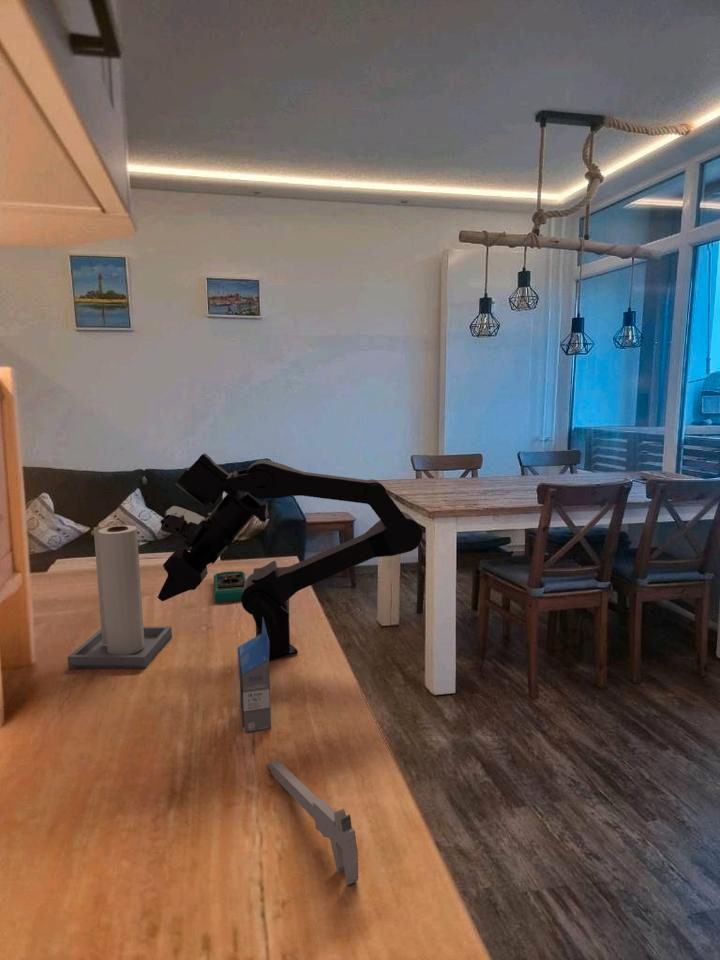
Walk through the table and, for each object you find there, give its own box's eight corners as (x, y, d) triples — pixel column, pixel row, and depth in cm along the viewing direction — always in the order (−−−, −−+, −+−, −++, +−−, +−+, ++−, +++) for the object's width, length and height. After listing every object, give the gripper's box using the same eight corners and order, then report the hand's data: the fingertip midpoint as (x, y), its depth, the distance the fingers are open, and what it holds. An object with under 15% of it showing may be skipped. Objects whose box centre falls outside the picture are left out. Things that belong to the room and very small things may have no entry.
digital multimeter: (245, 580, 140) (244, 569, 140) (249, 601, 126) (249, 588, 126) (213, 583, 138) (213, 571, 138) (214, 604, 124) (214, 591, 124)
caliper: (359, 886, 53) (358, 823, 52) (348, 891, 52) (348, 828, 51) (274, 764, 70) (272, 716, 69) (265, 767, 70) (264, 718, 69)
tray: (172, 636, 107) (171, 626, 107) (145, 668, 94) (144, 657, 94) (104, 636, 107) (103, 626, 107) (68, 668, 95) (67, 657, 94)
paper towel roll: (148, 651, 100) (140, 529, 96) (111, 660, 96) (101, 534, 93) (138, 636, 105) (130, 521, 102) (102, 645, 102) (93, 526, 99)
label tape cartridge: (238, 700, 85) (235, 619, 83) (265, 696, 86) (263, 616, 84) (243, 734, 76) (239, 644, 74) (273, 729, 77) (270, 641, 75)
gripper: (203, 478, 105) (152, 540, 108) (167, 506, 86) (107, 579, 89) (251, 518, 106) (199, 577, 109) (226, 553, 88) (164, 624, 91)
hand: (169, 587), depth 99 cm, fingers open, 9 cm apart
